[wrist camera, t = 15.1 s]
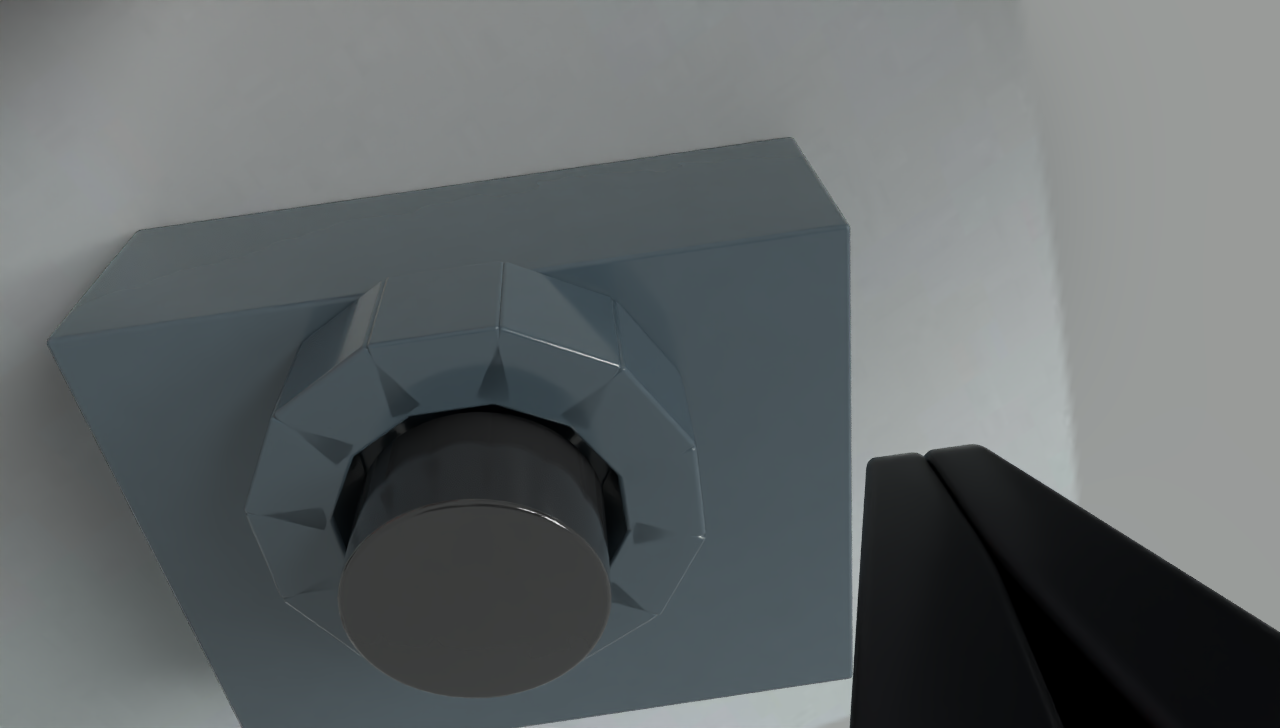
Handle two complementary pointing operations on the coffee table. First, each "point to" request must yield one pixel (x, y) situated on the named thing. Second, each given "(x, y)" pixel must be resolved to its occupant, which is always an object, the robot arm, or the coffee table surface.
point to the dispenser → (498, 382)
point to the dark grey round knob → (477, 557)
